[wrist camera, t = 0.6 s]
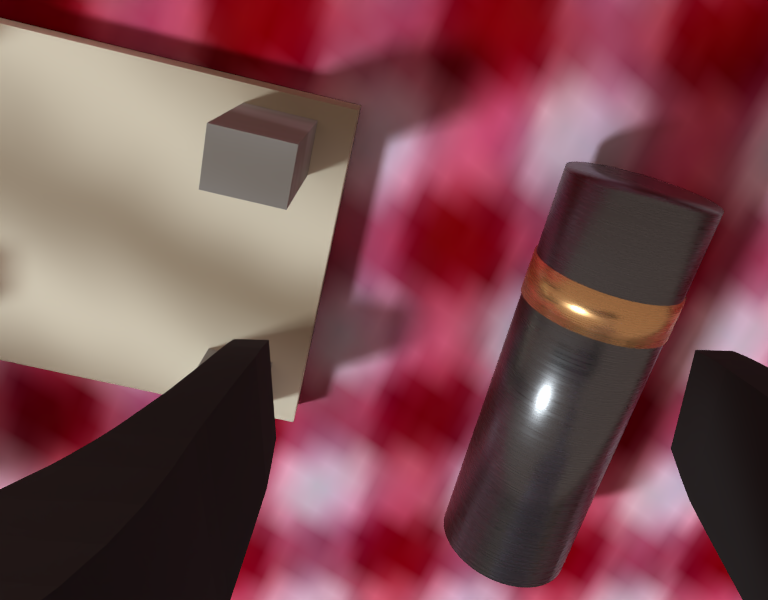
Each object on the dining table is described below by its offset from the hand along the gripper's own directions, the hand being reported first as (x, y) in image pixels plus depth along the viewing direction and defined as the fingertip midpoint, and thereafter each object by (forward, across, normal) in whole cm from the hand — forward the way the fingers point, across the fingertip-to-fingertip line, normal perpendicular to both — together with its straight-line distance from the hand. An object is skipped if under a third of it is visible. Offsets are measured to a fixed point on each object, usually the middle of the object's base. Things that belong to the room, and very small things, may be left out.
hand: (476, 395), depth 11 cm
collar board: (+9, +11, 0) cm, 14 cm away
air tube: (+9, -4, +4) cm, 10 cm away
